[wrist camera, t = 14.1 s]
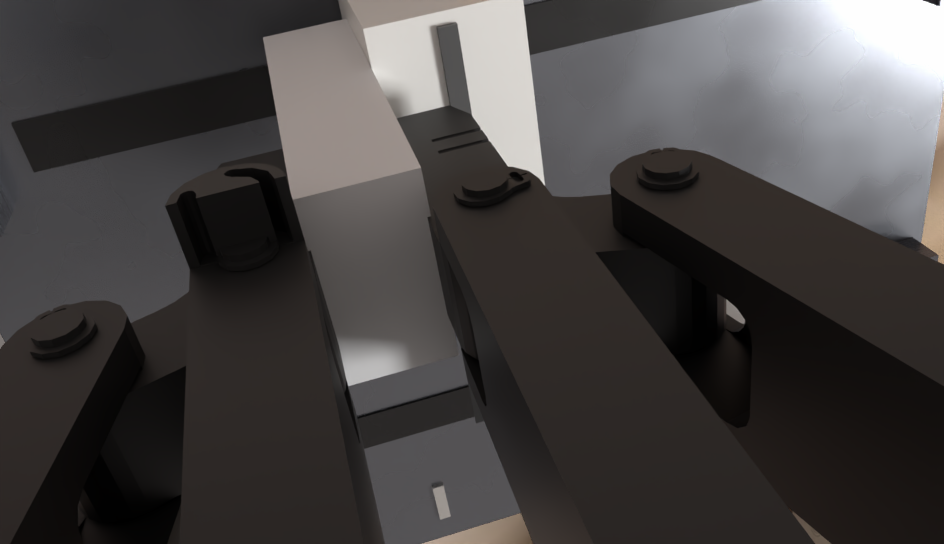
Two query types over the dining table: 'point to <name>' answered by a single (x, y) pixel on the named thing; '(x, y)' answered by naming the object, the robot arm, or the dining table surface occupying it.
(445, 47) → the fader
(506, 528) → the dining table surface
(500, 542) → the dining table surface
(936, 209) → the dining table surface
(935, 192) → the dining table surface
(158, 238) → the console
